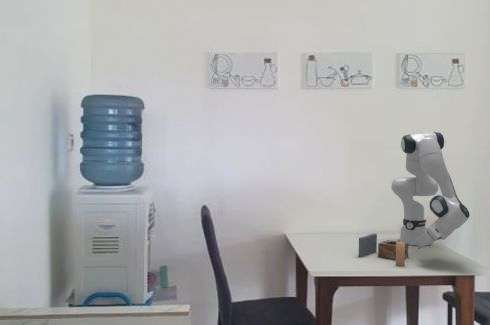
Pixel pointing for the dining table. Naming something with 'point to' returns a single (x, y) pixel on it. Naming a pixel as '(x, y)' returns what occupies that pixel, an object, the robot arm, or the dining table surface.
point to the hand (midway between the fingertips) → (419, 247)
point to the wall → (367, 245)
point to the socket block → (389, 249)
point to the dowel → (400, 253)
